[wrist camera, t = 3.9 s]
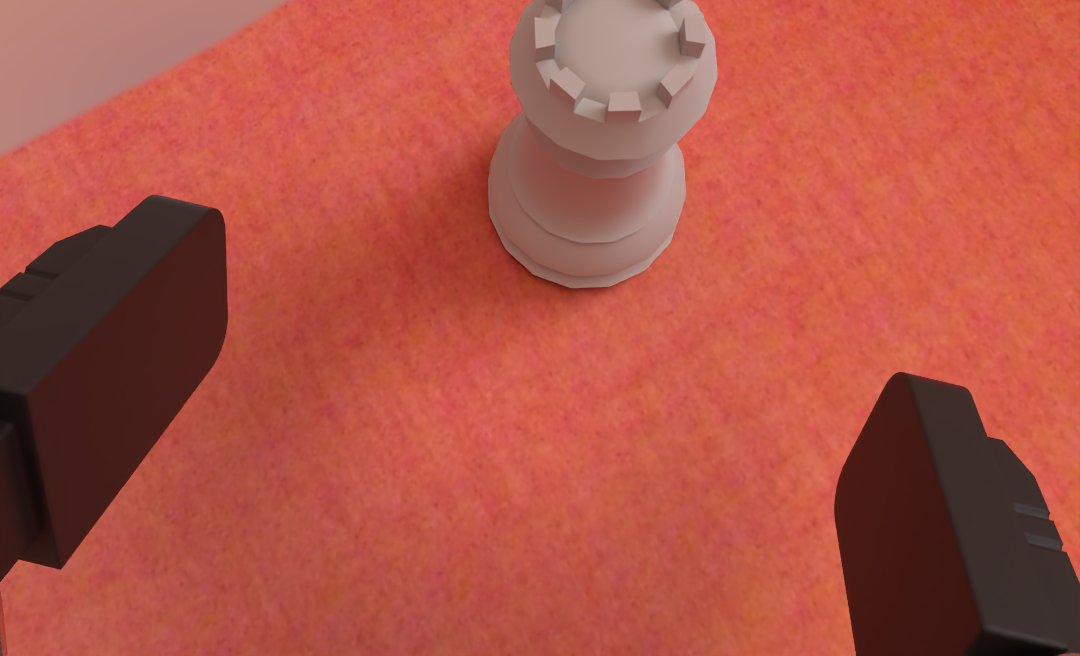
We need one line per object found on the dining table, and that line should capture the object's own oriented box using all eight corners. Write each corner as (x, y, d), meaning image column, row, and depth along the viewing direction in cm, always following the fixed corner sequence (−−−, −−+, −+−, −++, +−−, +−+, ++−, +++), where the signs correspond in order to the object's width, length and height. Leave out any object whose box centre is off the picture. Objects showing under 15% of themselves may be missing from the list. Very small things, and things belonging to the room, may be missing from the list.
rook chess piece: (603, 73, 22) (648, -161, 14) (718, 220, 21) (835, 63, 13) (449, 178, 21) (405, -3, 13) (563, 331, 21) (587, 237, 13)
